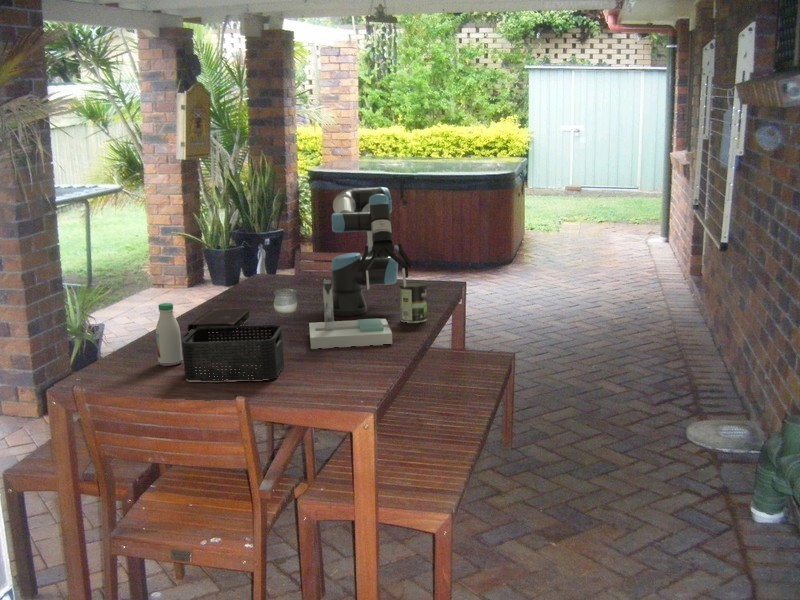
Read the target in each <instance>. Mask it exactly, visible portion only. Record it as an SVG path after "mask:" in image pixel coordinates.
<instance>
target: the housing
mask: <svg viewBox="0 0 800 600" xmlns="http://www.w3.org/2000/svg"><path fill="white" fill-rule="evenodd" d="M358 320H359V319H355V320H341V321H340V320H337V321H335V320H334V330H327V331H325V321H323V322H322V321H321V322H317V321H316V322H308V324H309V325H308V328H309V340H310V342H309V343H310V349H311V350H319V349H318V348H322V349H335V348H334V347H339V348H350V347H351V346H356V347H369V346H370V345H373V346H384V345H383V344H391V345H393V333H392V332H393V331H392V329H391V328H390V326H389V323H388V321H387V319H386V318H380V320H381V323H382V325H383V327H384V331H371V332H361V331H360V328H359V325H358ZM351 348H352V347H351Z"/></svg>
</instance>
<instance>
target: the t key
mask: <svg viewBox="0 0 800 600" xmlns="http://www.w3.org/2000/svg"><path fill="white" fill-rule="evenodd" d="M322 292H323V293H322V294H323V296H322V297H323V313H324V322H325V331H327V330H334V322H335V319H334V318H335V317H334V316H335V315H334V314H333V286H332V280H331V279H323V287H322Z"/></svg>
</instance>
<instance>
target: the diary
mask: <svg viewBox="0 0 800 600" xmlns="http://www.w3.org/2000/svg"><path fill="white" fill-rule="evenodd" d="M252 309H253V308H252V307H227V308H226V307H225V308H211V309H208V311H206V312H204V313H203V314H200V315H199V316H198V317H197V318H196V319H194V321H192V322H190V323H188V324H187V332H188V331H190V330H191V329H193V330H194V329H196V328H201V327H221V326H240V325H242V326H243V324H244V322H245V321H246V320H247V319H248V318H249V317H251V316H250V311H251V310H252ZM233 329H234V328H233ZM212 330H214V329H212ZM217 330H218V329H217ZM229 332H230V331H229ZM232 332H233V331H232Z"/></svg>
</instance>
